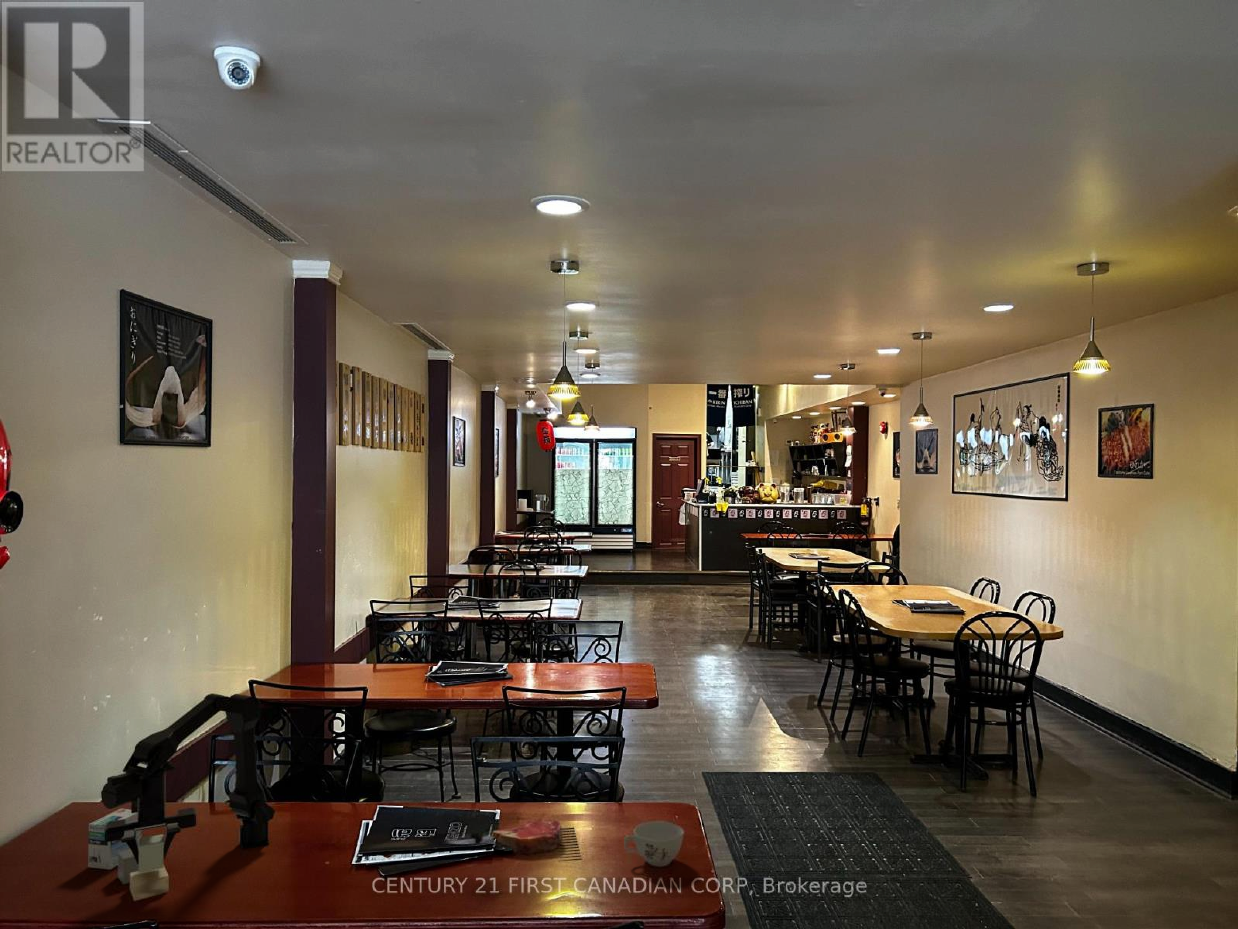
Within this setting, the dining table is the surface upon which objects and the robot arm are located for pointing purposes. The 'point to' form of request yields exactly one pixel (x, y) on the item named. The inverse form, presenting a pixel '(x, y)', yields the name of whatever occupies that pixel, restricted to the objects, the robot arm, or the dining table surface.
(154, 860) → the sage block
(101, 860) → the light bulb box
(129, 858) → the grey block
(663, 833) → the teacup
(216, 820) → the dining table surface
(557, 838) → the steak
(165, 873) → the maple base
